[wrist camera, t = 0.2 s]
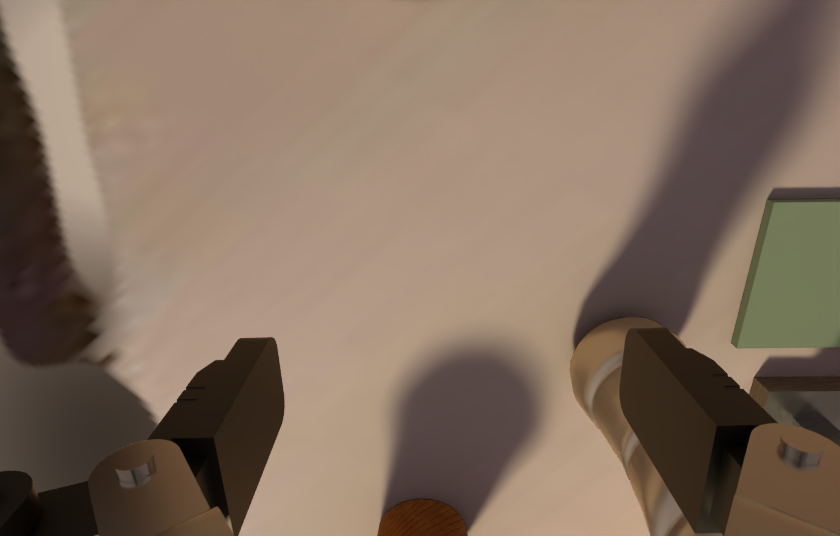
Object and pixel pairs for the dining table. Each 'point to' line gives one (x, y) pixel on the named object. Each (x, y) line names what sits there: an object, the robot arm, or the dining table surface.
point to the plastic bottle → (623, 421)
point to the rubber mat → (793, 278)
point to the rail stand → (802, 402)
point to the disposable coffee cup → (422, 520)
